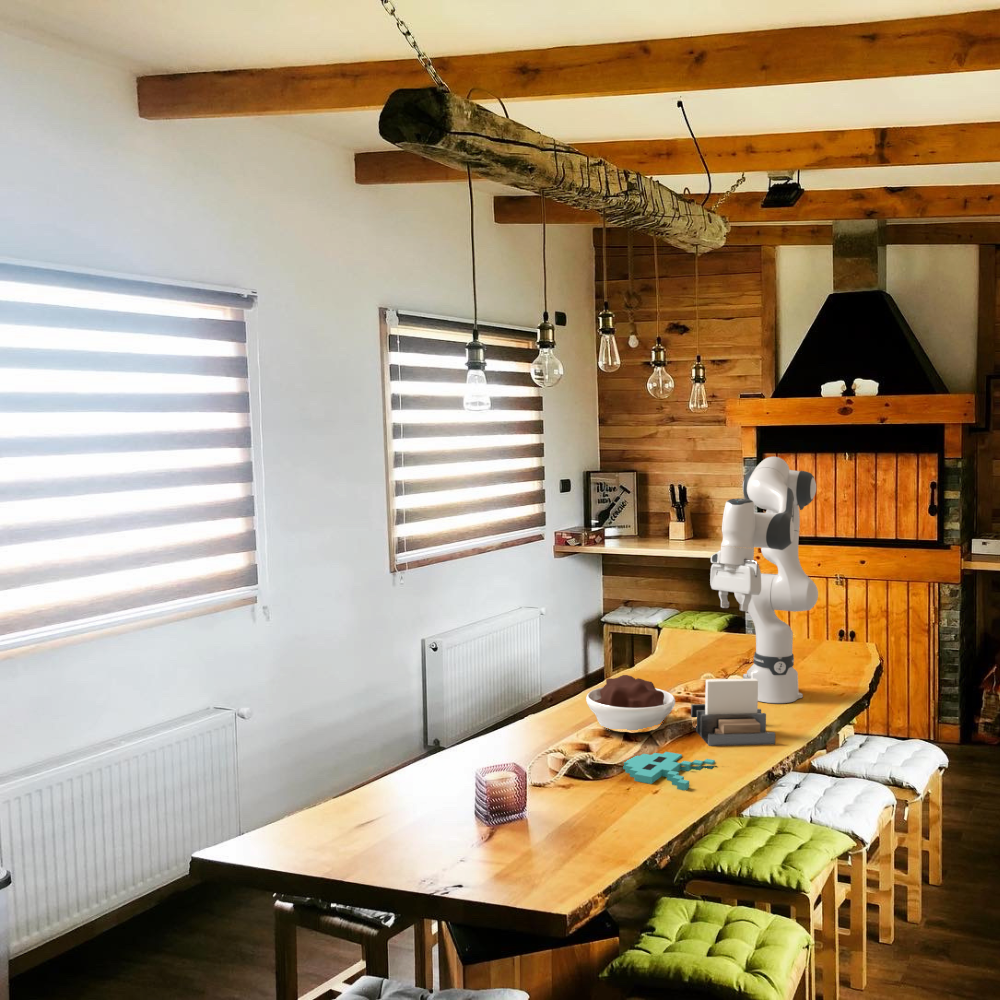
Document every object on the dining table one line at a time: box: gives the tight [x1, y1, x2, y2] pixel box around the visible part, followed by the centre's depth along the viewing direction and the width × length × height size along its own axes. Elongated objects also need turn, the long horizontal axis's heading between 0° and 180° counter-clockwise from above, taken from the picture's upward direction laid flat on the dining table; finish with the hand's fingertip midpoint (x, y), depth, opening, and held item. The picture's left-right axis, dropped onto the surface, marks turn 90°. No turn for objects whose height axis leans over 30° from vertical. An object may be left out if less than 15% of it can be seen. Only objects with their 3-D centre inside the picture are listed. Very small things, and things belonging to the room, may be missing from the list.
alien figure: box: [622, 751, 716, 791], centre depth 277 cm, size 20×2×20 cm
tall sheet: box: [704, 678, 759, 714], centre depth 304 cm, size 2×14×15 cm, turn 95°
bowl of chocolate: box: [585, 674, 676, 730], centre depth 312 cm, size 25×25×15 cm
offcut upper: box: [718, 719, 760, 733], centre depth 298 cm, size 5×10×2 cm, turn 95°
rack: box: [690, 703, 776, 747], centre depth 303 cm, size 19×18×7 cm
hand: (734, 609), depth 298 cm, fingers open, 8 cm apart
